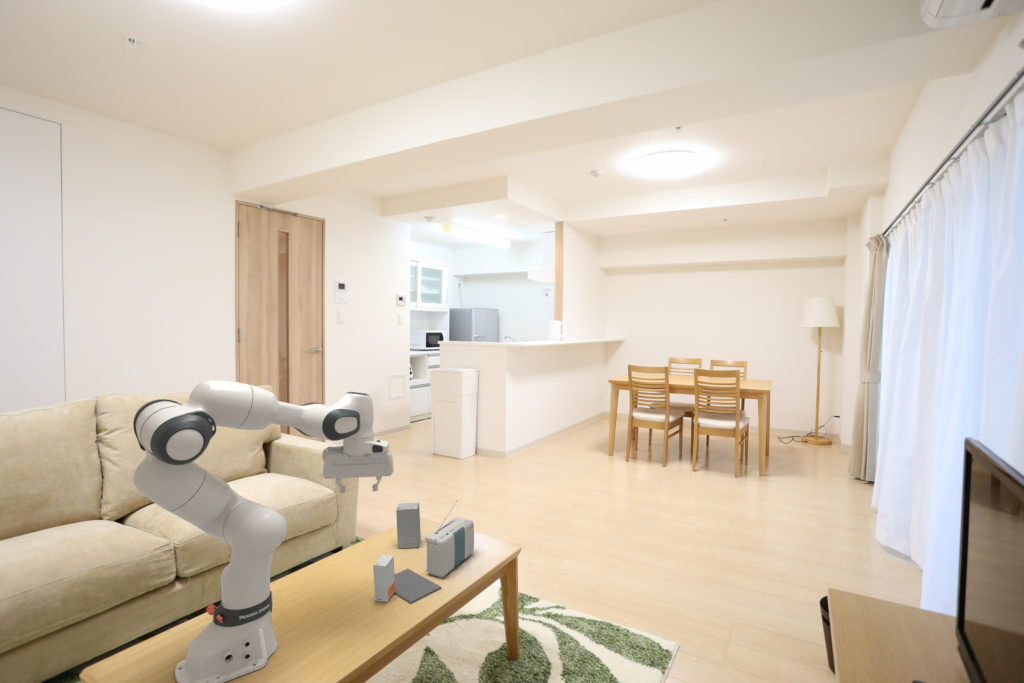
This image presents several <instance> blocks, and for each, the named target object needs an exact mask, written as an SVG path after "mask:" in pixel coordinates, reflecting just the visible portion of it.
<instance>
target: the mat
mask: <svg viewBox="0 0 1024 683" xmlns="http://www.w3.org/2000/svg"><path fill="white" fill-rule="evenodd" d="M439 590H442V586H441V585H439V584H437V583H435V582H434V581H431V580H430V579H428V578H426V577H425V576H423V575H421V574H420V573H419V574H418V573H417V572H415V571H413V570H412V569H410V568H406V569H403V570H401V571H399V572H396V573H395V592H394V593H393V595H395V596H397V597H399V598H401V599H403V600H404V601H406V602H407V603H408V604H410V605H411V604H413V603H416V602H417V601H419V600H422V599H423V598H426V597H427V596H429V595H432V594H434V593H436V592H437V591H439Z"/></svg>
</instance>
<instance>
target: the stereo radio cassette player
mask: <svg viewBox="0 0 1024 683" xmlns="http://www.w3.org/2000/svg"><path fill="white" fill-rule="evenodd" d="M457 502H458V500H456V501H455V503H454V504H453V506H452V507H451V508H450V510H449V511H448V513H447V514H446V516H444V518H443V520H442V522H441V524H440V525H439V526H438V527H437V529H435V530H433V531H432V532H430V533H429V534H427V535H425V538H424V541H425V543H426V572H427V574H429V575H432V576H436V577H438V578H441V579H442V578H444V577H445V576H446V575H447V574H449V573H450V572H451V571H453V569H455V568H456V567H457V566H458V565H460V564H461V563H462V562H463V561H465V559H467V558H469V556H471V555H472V554H473V553H474V549H475V524H474V521H473V520H471V519H467V518H463V517H454V518H452V519H451V520H449V521H448V522H446V523H445V521H446V520H447V518H448V516H450V514H451V512H452V510H453V508H454V507H455V506H456V503H457Z"/></svg>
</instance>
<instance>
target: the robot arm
mask: <svg viewBox="0 0 1024 683" xmlns="http://www.w3.org/2000/svg"><path fill="white" fill-rule="evenodd" d="M374 420H375V417H374V402H373V399H372V397H371V395H369V394H368V393H363V392H356V391H347V392H345V393H344V395H343V396H342V397H341V398H340V399H339V400H338V401H336V402H334V403H333V404H330V405H329V404H324V403H320V402H312V401H311V402H307V403H303V404H299V405H298V404H294V403H289V402H284V401H280V400H278V399H277V396H276V394H274V392H271V391H270V390H268V389H265V388H262V387H260V386H257V385H253V384H248V383H244V382H239V381H232V380H231V381H230V380H223V379H222V380H221V379H207V380H202V381H200V382H199V383H198V384H197V385H195V387H194V388H193V389H192V391H191V392H190V394H189V397H188V399H187V400H185V401H184V402H183V403H182V404H181V403H180V402H178V401H175V400H172V399H167V398H166V399H164V398H161V399H160V398H159V399H154V400H151V401H149V402H146V403H145V404H143V405H142V406H140V407H139V408H138V410H137V411H136V413H135V415H134V417H133V421H132V422H133V426H132V427H133V431H134V435H135V437H136V440H137V442H138V444H139V447H140V449H141V450H142V451H143V452H145V453H146V454H145V458H144V459H143V460H142V461H141V462H140V463H139V464H138V465H137V467H136V469H135V471H134V473H133V476H132V482H133V485H134V487H135V488H136V489H137V490H138V491H139V492H140V493H141V494H142V495H144V496H145V497H146V498H147V499H148V500H150V501H151V502H153V503H154V504H155V505H157V506H158V507H160V508H161V509H164V510H166V511H167V512H169V513H171V514H173V515H175V516H177V517H178V518H180V519H182V520H184V521H185V522H188V523H189V524H191V525H193V526H195V527H197V528H198V529H200V530H201V531H203V532H205V533H206V534H208V535H210V537H211V536H212V537H213V538H215V539H217V541H221V542H223V543H225V544H228V545H230V549H231V556H230V560H229V564H227V565H226V566H225V567H224V568H223V570H222V572H221V575H220V580H221V582H220V583H221V587H220V588H221V601H220V602H219V604H218V606H216V605H215V604H214V603H211V604H209V605H207V607H206V609H205V611H206V613H207V614H208V615H210V616H212V620H211V621H210V623H208V624H207V625H206V627H204V629H202V630H201V631H200V632H199V633H198V634H197V635H196V636H195V637H194V638H193V639H192V640H191V642H190V643H189V645H188V647H187V652H186V656H185V658H184V659H182V660H180V661H179V662H178V663H177V665H176V667H175V670H174V678H175V681H176V683H225V682H228V681H231V680H234V679H236V678H238V677H241V676H242V677H243V676H244V675H247V674H250V673H252V672H255V671H258V670H261V669H263V668H265V666H266V664H267V663H268V660H269V658H270V657H271V656H272V655H273V654H274V653H275V651H276V649H277V648H278V644H279V643H278V639H277V636H276V633H275V629H274V626H273V624H274V623H273V618H272V612H273V606H274V605H273V603H274V602H273V594H272V590H271V562H272V560H273V555H274V552H275V550H276V549H277V548H278V547H279V546H280V545H281V544H282V542H284V540H285V538H286V536H287V532H288V523H287V520H286V518H285V516H283V515H282V514H281V513H279V511H277V510H275V508H273V507H272V506H271V507H270V506H267V505H264V504H261V503H259V502H256V501H253V500H250V499H247V498H246V497H243V496H242V495H241V494H239V493H237V491H235V490H234V489H233V488H231V486H230V484H228V483H227V482H226V481H225V480H222V478H220V477H218V476H216V475H215V474H213V473H212V472H210V471H208V469H205V467H203V466H201V465H199V464H198V463H196V462H195V461H196V460H197V459H199V458H200V457H201V456H202V455H203V454H204V452H205V451H206V449H207V448H208V446H209V444H210V441H211V440H212V438H213V437H214V436H215V435H216V433H217V427H223V428H230V429H235V430H243V431H258V430H264V429H267V427H269V426H270V425H271V424H273V425H277V426H278V425H279V426H284V427H286V426H287V427H290V428H294V429H295V430H296V431H297V432H299V433H300V434H302V435H304V436H306V437H311V438H318V439H322V440H325V441H330V442H337V441H342V445H340V446H327V448H324V449H323V450H322V455H321V456H322V457H321V458H322V460H323V467H322V477H323V478H324V479H325V480H331V479H332V480H333V479H335V484H336V485H337V486H338V488H339V493H340V494H343V493H346V491H347V489H346V488H347V486H346V485H343V483H342V480H343V479H353V478H354V479H355V478H375V480H376V483H373V484H372V486H371V487H372V490H371V491H372V492H378V491H379V484H380V482H381V481H382V477H391V476H392V474H393V473H394V471H395V470H394V459H393V454H392V452H391V451H390V443H389V441H387V440H384V439H379V438H376V437H375V436H374V430H373V426H374Z"/></svg>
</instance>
